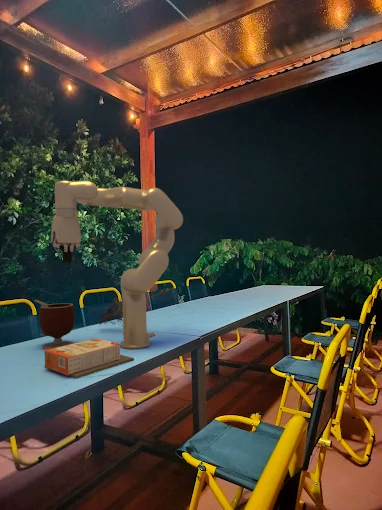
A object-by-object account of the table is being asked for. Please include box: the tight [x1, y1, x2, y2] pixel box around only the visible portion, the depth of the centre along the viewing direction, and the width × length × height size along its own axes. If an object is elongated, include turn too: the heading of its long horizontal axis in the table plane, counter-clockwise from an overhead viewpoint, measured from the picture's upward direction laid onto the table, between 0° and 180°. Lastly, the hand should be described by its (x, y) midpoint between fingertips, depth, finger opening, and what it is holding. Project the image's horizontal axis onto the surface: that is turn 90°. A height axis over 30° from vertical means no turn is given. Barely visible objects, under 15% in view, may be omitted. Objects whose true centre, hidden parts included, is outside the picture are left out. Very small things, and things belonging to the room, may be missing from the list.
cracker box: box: [44, 338, 121, 376], centre depth 122 cm, size 14×6×21 cm
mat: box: [44, 354, 135, 379], centre depth 124 cm, size 23×19×1 cm
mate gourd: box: [34, 299, 76, 351], centre depth 150 cm, size 16×14×20 cm
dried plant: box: [94, 286, 181, 327], centre depth 173 cm, size 30×31×45 cm
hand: (67, 262), depth 136 cm, fingers closed
